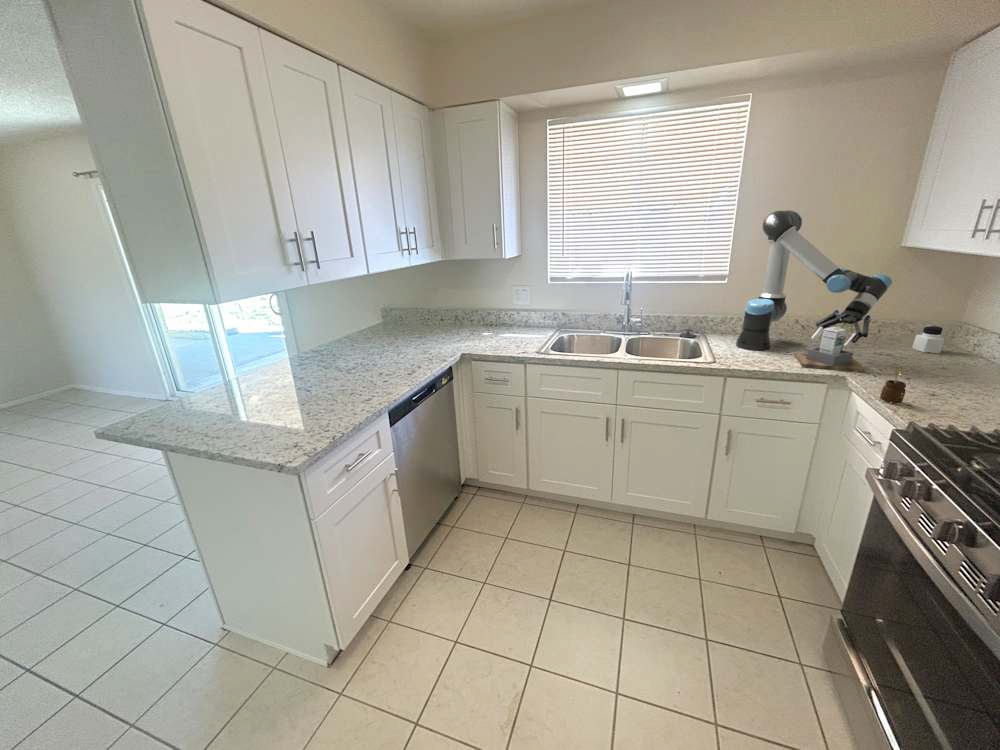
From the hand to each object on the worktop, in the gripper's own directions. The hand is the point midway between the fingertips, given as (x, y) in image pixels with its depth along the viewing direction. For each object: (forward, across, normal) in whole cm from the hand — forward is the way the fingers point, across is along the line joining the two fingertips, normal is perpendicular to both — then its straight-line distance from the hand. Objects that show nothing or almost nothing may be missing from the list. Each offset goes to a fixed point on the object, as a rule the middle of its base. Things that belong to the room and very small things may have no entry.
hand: (828, 343), depth 181 cm
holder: (+4, 0, -7) cm, 9 cm away
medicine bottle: (-36, -7, -50) cm, 62 cm away
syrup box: (+4, 0, -8) cm, 9 cm away
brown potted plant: (+20, -36, +6) cm, 42 cm away
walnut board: (+5, 0, -8) cm, 10 cm away
